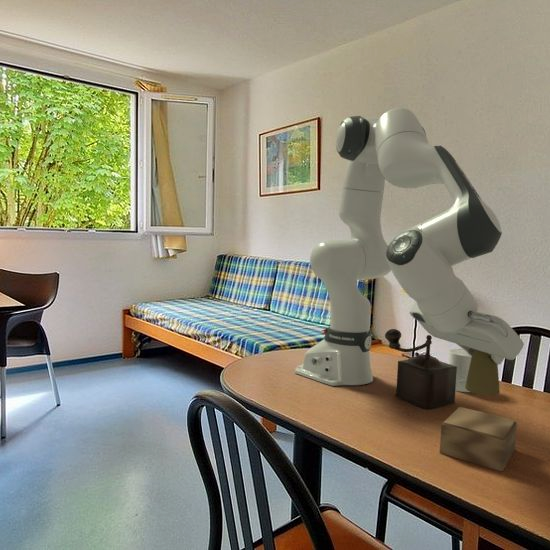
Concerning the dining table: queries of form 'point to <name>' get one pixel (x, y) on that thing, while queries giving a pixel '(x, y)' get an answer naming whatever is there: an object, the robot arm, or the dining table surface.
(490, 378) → the olive knobbed peg
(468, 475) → the dining table surface
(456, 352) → the white cup
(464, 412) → the walnut block
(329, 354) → the robot arm
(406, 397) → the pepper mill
